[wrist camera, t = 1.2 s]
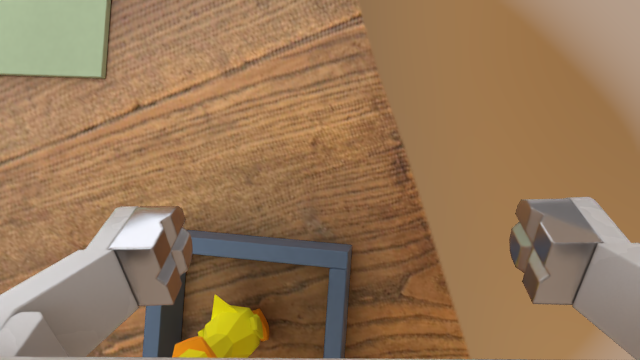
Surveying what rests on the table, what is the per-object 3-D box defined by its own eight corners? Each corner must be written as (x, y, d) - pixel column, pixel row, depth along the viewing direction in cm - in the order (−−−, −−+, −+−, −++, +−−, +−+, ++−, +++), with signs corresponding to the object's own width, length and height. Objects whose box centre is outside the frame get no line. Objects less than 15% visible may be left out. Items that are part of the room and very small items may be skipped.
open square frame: (175, 228, 29) (151, 233, 26) (352, 244, 27) (348, 251, 24) (162, 406, 29) (136, 431, 26) (339, 434, 27) (333, 465, 24)
